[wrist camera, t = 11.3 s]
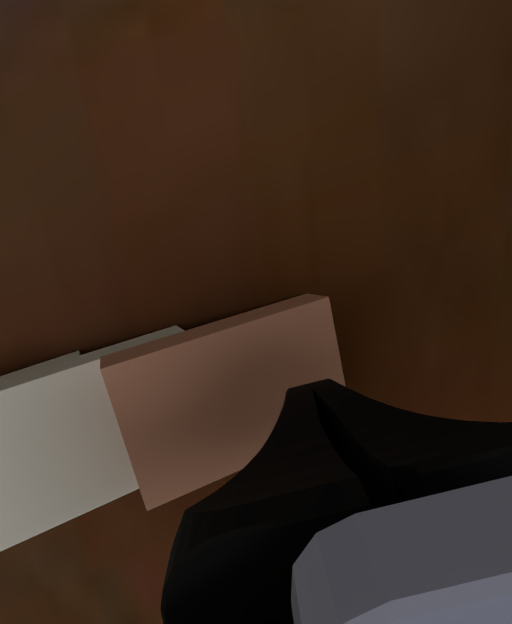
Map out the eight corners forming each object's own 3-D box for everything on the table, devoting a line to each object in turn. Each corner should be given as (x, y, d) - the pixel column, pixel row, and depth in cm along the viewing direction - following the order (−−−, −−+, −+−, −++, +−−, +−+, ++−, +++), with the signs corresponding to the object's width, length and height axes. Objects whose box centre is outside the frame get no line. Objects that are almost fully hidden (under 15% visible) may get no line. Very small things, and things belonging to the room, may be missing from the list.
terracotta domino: (330, 406, 17) (142, 485, 14) (307, 293, 16) (100, 356, 13) (352, 420, 15) (147, 511, 13) (328, 297, 14) (100, 369, 12)
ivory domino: (185, 331, 14) (-77, 415, 12) (219, 452, 15) (-14, 557, 13) (175, 325, 16) (-60, 399, 13) (207, 436, 17) (-5, 527, 14)
